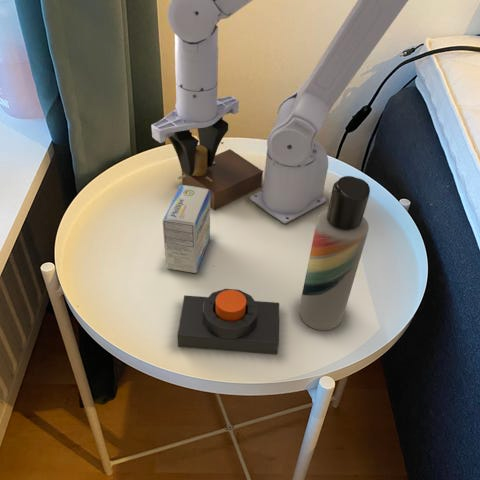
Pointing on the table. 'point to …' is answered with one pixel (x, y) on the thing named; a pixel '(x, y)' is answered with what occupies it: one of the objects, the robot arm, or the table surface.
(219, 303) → the button
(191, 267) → the medicine box
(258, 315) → the switch base
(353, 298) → the table surface
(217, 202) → the dial panel
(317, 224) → the lotion bottle
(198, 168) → the dial
